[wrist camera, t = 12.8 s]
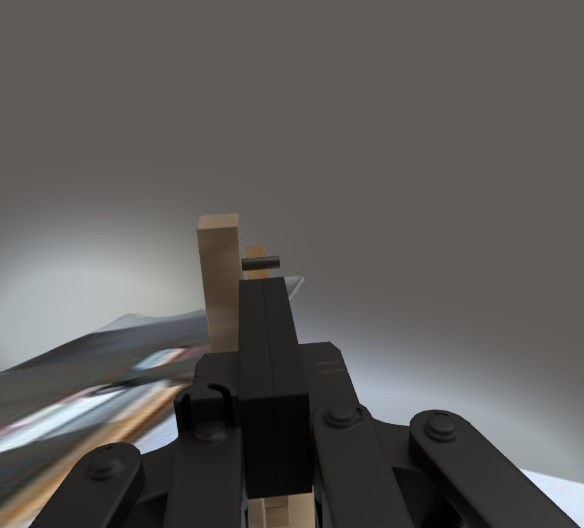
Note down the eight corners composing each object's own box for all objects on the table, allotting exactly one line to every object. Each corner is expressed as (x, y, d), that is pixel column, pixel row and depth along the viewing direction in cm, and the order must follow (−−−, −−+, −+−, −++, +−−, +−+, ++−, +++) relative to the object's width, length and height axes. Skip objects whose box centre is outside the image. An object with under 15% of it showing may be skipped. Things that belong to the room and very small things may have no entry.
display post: (224, 610, 35) (174, 249, 25) (227, 498, 44) (192, 203, 35) (336, 596, 35) (328, 237, 26) (316, 488, 45) (305, 196, 35)
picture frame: (266, 529, 29) (250, 350, 24) (257, 374, 44) (246, 246, 39) (290, 526, 29) (278, 347, 25) (273, 373, 44) (264, 245, 39)
